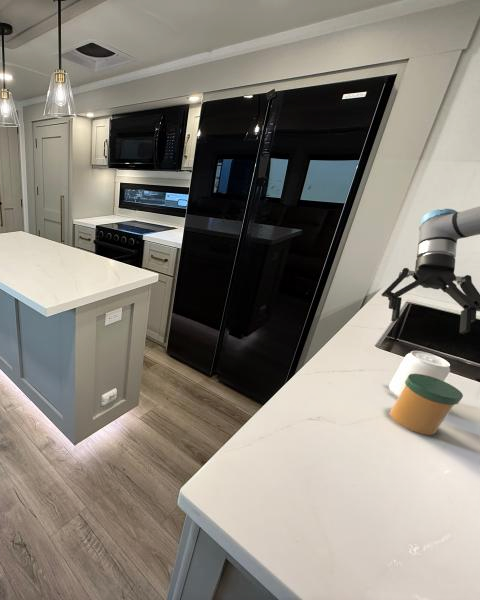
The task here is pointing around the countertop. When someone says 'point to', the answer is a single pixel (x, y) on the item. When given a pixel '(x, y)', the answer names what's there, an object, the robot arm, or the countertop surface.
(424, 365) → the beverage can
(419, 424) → the jar
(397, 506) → the countertop surface
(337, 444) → the countertop surface
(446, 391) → the jar lid
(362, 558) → the countertop surface
